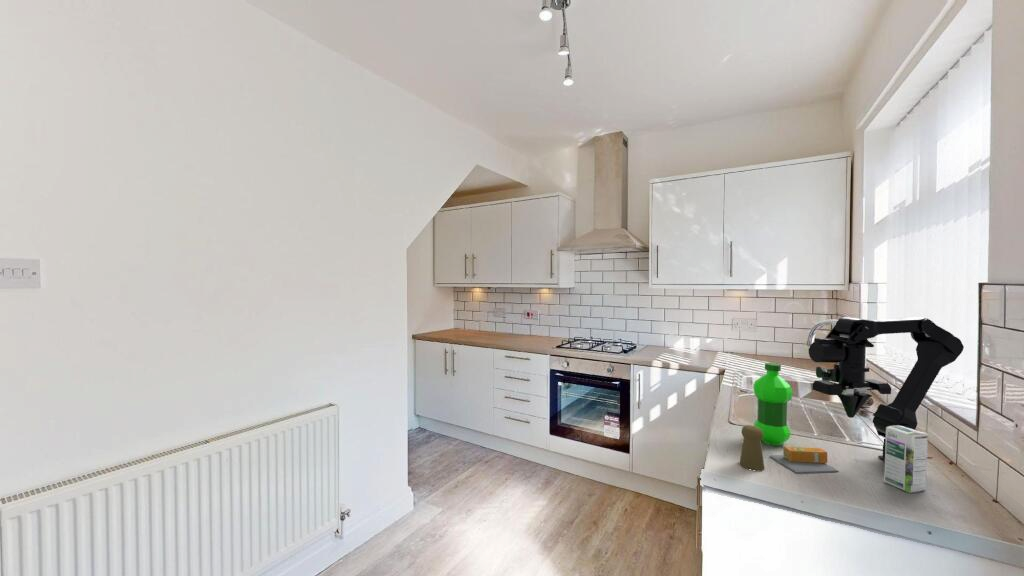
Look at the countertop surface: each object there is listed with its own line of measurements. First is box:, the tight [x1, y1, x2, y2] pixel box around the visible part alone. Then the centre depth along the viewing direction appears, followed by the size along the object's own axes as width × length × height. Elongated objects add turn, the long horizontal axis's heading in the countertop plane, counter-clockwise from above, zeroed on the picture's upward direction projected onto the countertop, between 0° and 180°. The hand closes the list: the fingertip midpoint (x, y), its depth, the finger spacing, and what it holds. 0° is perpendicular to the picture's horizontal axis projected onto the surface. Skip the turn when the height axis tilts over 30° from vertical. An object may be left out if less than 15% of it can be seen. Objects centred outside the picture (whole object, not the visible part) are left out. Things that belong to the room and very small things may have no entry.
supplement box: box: [782, 446, 828, 464], centre depth 114 cm, size 3×3×10 cm
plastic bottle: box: [752, 362, 793, 446], centre depth 127 cm, size 10×10×25 cm
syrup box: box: [883, 425, 929, 494], centre depth 100 cm, size 6×6×14 cm
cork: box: [739, 424, 765, 472], centre depth 111 cm, size 6×6×11 cm
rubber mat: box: [769, 454, 839, 474], centre depth 113 cm, size 12×10×1 cm
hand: (850, 417), depth 113 cm, fingers closed
